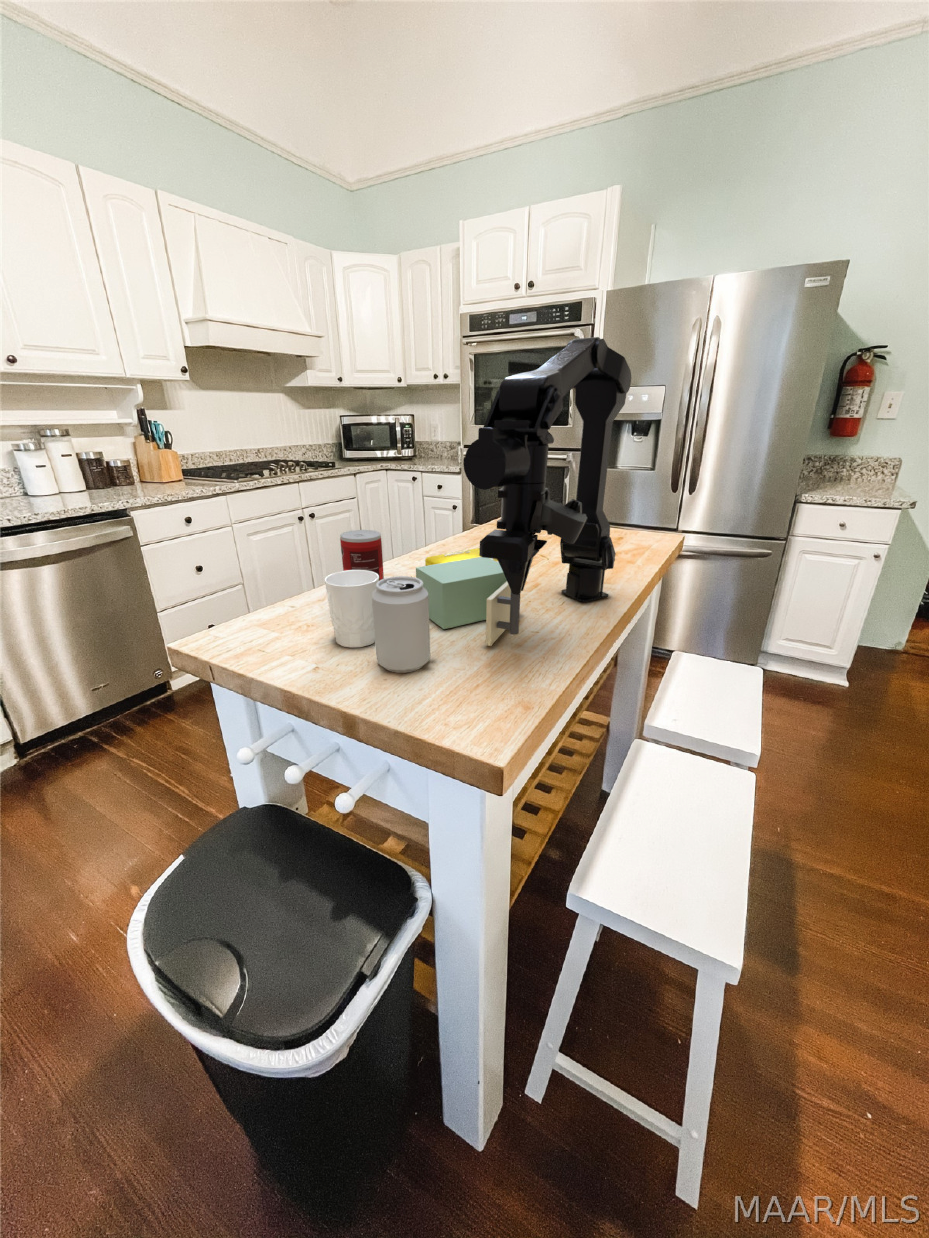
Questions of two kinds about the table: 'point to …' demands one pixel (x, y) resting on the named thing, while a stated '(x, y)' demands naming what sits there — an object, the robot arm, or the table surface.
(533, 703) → the table surface
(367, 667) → the table surface
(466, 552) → the element tile
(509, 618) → the fridge door
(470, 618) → the mini fridge
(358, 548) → the canned food
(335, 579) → the white cup
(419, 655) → the can
